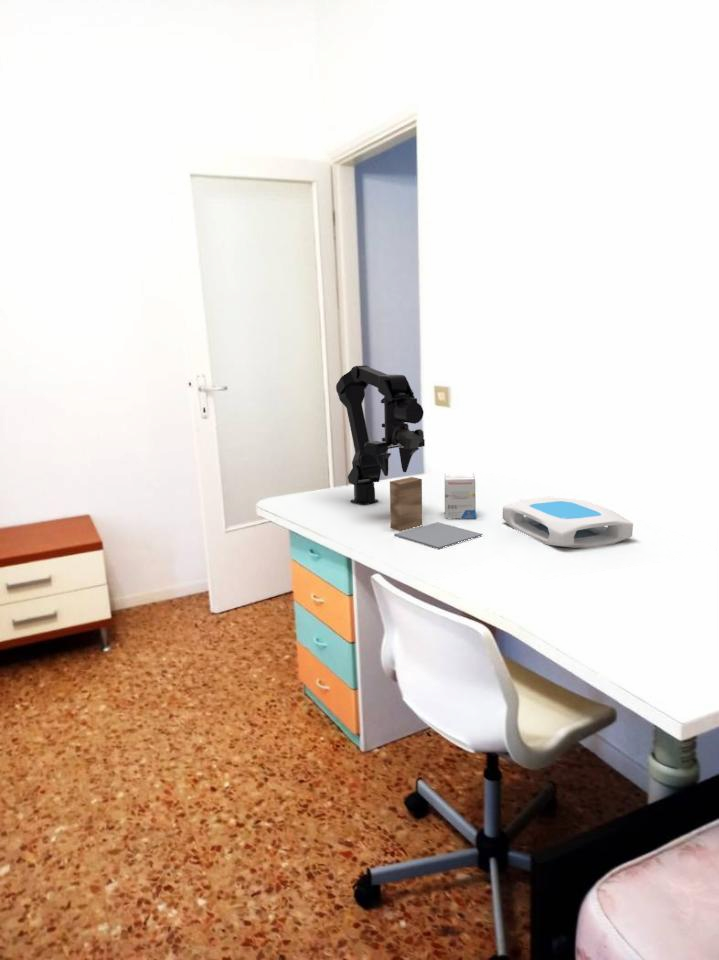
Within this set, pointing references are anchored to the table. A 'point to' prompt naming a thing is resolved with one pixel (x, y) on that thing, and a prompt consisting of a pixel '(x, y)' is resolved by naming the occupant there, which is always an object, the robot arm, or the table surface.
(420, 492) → the walnut domino block
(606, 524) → the white blue plastic platform
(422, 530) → the mat
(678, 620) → the table surface
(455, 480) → the ink box
